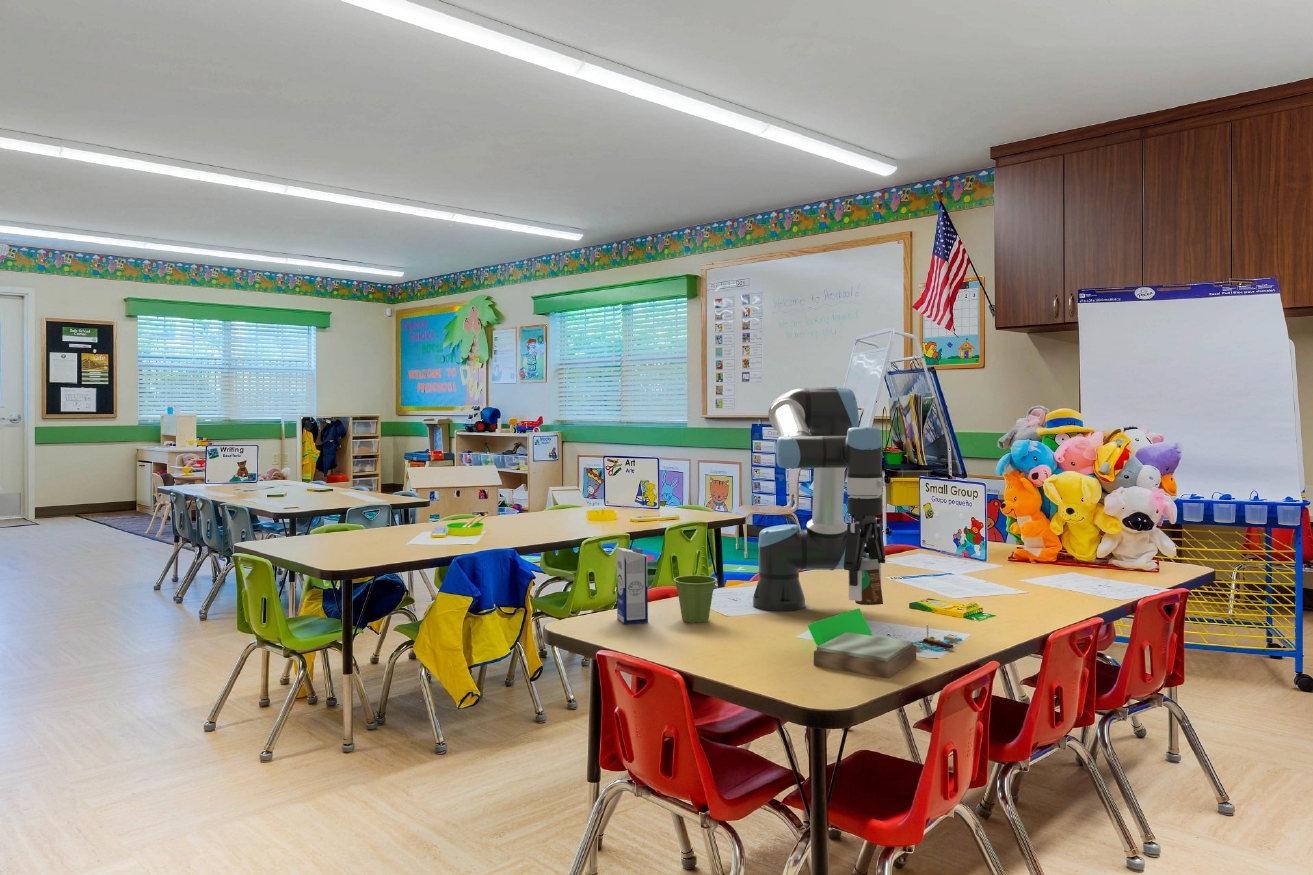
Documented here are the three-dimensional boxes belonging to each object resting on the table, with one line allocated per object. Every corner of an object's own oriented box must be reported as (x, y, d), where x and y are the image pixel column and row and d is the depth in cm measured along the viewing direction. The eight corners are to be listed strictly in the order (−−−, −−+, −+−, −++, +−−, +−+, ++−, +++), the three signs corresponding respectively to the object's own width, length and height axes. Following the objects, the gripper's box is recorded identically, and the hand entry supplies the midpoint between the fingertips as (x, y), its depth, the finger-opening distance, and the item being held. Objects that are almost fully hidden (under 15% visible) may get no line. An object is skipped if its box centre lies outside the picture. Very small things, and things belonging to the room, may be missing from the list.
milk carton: (617, 618, 236) (616, 546, 236) (640, 616, 238) (639, 545, 238) (624, 624, 229) (623, 549, 229) (648, 622, 231) (647, 548, 231)
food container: (845, 598, 197) (838, 555, 197) (871, 594, 197) (865, 551, 197) (856, 609, 185) (849, 563, 185) (884, 605, 185) (878, 559, 185)
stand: (813, 665, 189) (813, 647, 189) (845, 648, 203) (845, 631, 203) (888, 677, 179) (888, 658, 179) (916, 659, 193) (916, 641, 193)
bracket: (843, 649, 218) (830, 622, 220) (872, 635, 212) (859, 607, 215) (797, 665, 204) (785, 636, 206) (828, 650, 198) (814, 620, 200)
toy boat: (978, 647, 205) (946, 638, 213) (978, 624, 205) (946, 617, 213) (921, 659, 195) (890, 650, 203) (921, 635, 195) (889, 627, 203)
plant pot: (669, 624, 229) (668, 582, 229) (679, 614, 241) (679, 574, 241) (712, 626, 226) (712, 583, 226) (721, 616, 238) (720, 576, 237)
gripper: (860, 501, 179) (860, 606, 179) (899, 493, 198) (900, 589, 198) (826, 499, 184) (827, 602, 184) (868, 492, 202) (869, 586, 202)
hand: (865, 595), depth 191 cm, fingers closed on food container, 10 cm apart
